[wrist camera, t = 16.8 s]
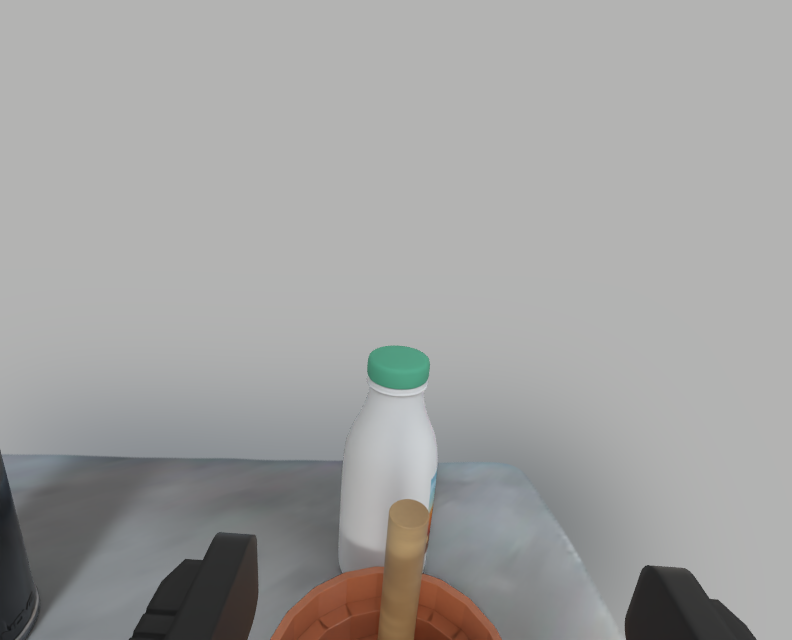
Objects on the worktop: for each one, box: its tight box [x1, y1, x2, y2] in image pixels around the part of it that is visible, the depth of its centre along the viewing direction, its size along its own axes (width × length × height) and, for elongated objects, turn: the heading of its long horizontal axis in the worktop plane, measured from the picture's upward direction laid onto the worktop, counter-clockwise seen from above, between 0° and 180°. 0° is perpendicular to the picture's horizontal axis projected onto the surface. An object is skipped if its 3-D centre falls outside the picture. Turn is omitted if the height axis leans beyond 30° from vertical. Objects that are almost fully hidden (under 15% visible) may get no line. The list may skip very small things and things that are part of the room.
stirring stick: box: [378, 499, 429, 640], centre depth 26 cm, size 4×4×17 cm
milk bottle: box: [338, 346, 438, 573], centre depth 38 cm, size 8×8×20 cm
